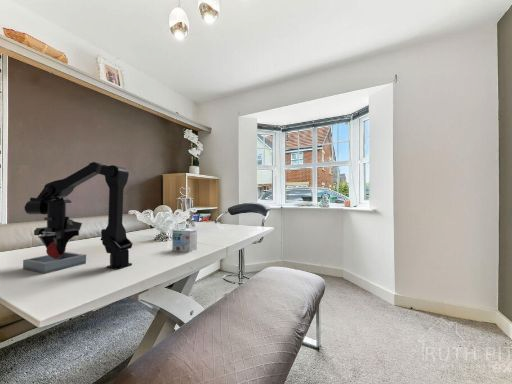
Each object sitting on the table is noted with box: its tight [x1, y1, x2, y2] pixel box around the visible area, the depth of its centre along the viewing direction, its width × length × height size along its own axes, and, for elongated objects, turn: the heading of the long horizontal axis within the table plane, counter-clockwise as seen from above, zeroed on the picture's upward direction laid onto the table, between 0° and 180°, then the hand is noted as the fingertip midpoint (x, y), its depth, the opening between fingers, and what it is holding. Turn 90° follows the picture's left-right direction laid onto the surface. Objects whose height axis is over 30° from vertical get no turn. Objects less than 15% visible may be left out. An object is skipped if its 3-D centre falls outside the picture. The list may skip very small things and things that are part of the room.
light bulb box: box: [171, 227, 198, 253], centre depth 119 cm, size 11×7×11 cm, turn 73°
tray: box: [22, 251, 87, 275], centre depth 91 cm, size 14×14×4 cm
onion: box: [46, 242, 67, 259], centre depth 92 cm, size 6×6×8 cm
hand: (56, 253), depth 92 cm, fingers closed on onion, 6 cm apart
